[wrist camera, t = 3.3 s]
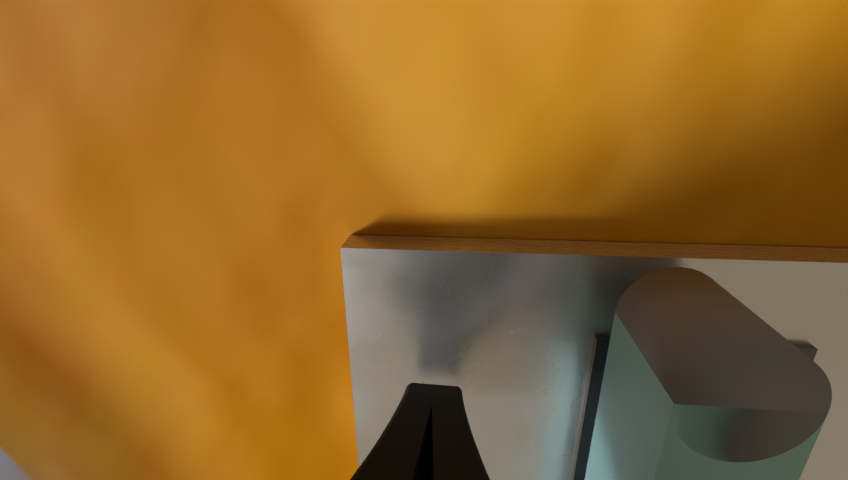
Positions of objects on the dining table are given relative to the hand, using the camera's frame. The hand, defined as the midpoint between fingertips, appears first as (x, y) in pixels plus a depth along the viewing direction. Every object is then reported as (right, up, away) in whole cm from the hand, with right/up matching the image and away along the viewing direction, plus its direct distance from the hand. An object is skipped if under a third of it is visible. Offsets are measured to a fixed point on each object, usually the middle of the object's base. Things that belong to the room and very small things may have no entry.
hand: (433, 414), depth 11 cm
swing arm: (+6, -4, +2) cm, 7 cm away
